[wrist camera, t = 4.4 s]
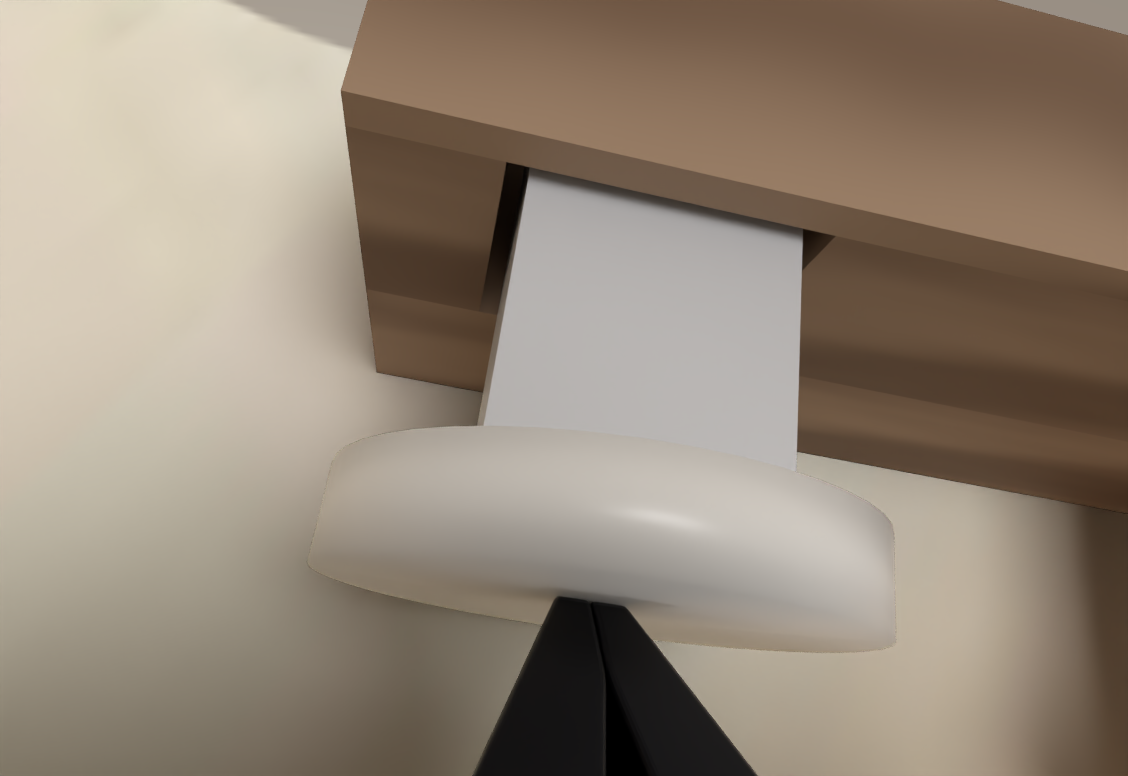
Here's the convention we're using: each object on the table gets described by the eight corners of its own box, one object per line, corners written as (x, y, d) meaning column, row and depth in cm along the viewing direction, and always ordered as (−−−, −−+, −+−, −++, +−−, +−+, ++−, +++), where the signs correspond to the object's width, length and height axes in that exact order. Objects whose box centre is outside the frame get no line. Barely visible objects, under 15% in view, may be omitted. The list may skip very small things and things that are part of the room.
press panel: (1276, 541, 19) (1900, 447, 11) (376, 372, 17) (341, 89, 9) (1247, 390, 21) (1781, 211, 13) (414, 212, 18) (414, -157, 10)
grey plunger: (747, 656, 13) (1056, 643, 7) (336, 593, 13) (254, 511, 6) (768, 206, 17) (991, -86, 10) (443, 133, 16) (463, -237, 9)
